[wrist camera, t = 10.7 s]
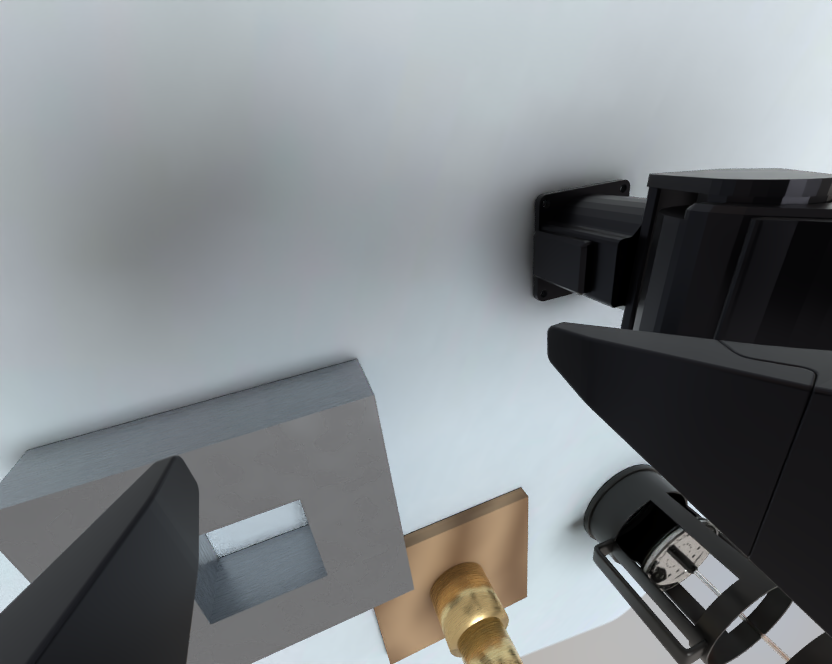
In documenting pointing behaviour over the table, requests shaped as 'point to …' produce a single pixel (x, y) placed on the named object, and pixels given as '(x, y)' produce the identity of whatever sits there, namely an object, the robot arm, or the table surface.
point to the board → (452, 545)
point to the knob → (472, 616)
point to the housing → (240, 506)
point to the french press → (684, 571)
